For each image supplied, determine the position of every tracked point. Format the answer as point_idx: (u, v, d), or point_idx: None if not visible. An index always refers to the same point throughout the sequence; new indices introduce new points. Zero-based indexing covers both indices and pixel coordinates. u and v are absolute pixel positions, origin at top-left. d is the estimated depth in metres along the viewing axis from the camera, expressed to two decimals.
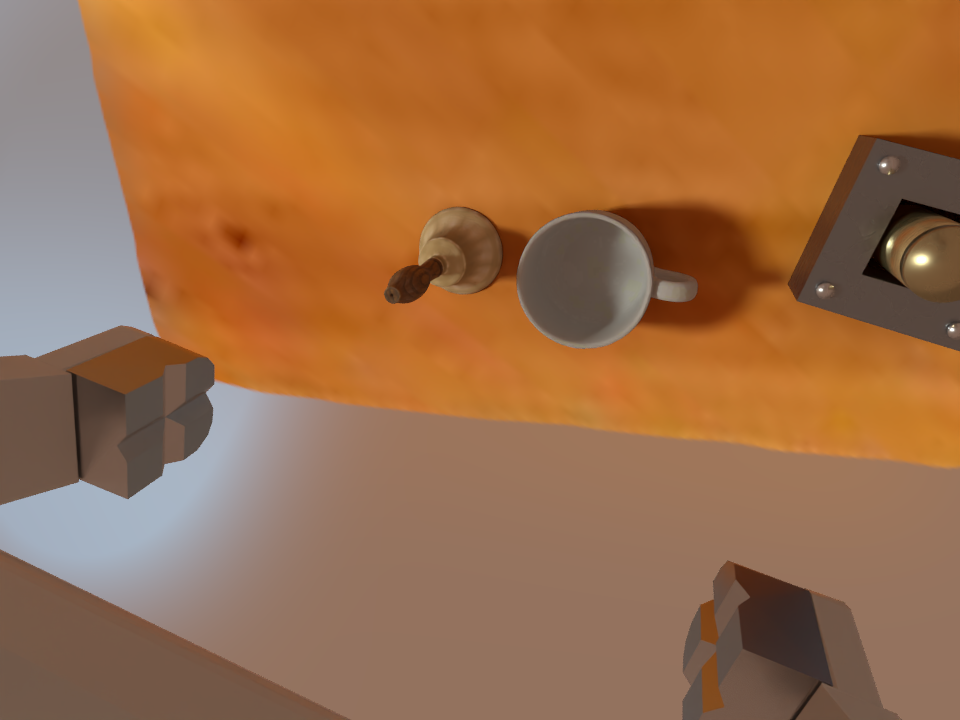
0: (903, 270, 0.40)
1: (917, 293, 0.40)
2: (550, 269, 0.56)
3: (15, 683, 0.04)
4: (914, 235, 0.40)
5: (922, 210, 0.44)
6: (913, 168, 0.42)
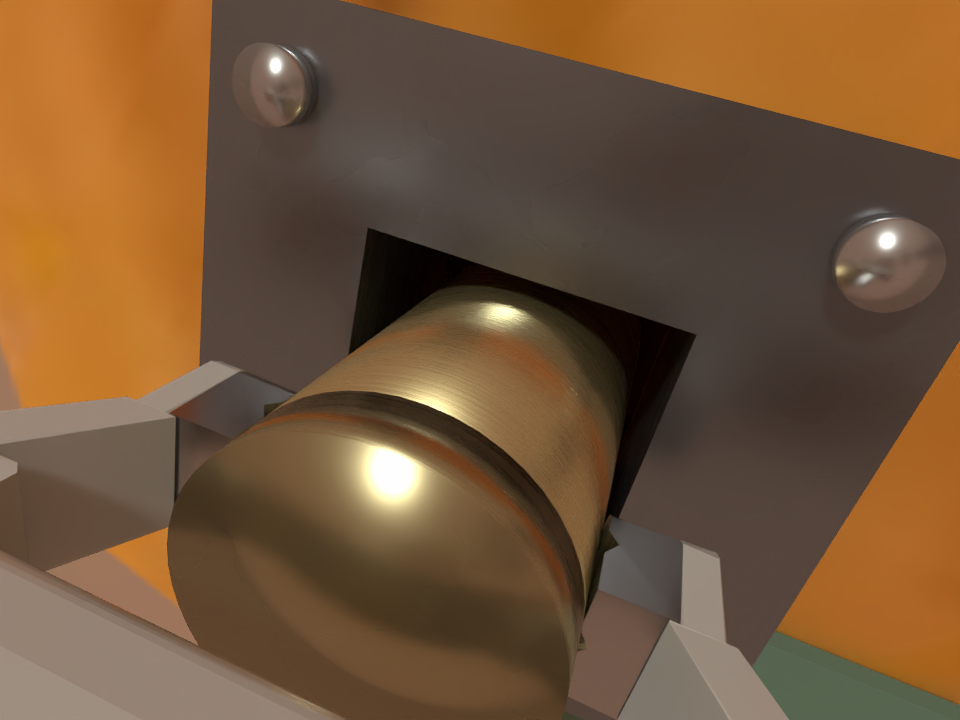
0: (294, 424, 0.06)
1: (185, 500, 0.07)
2: None
3: (15, 683, 0.04)
4: (520, 441, 0.07)
5: (629, 394, 0.12)
6: (838, 363, 0.09)
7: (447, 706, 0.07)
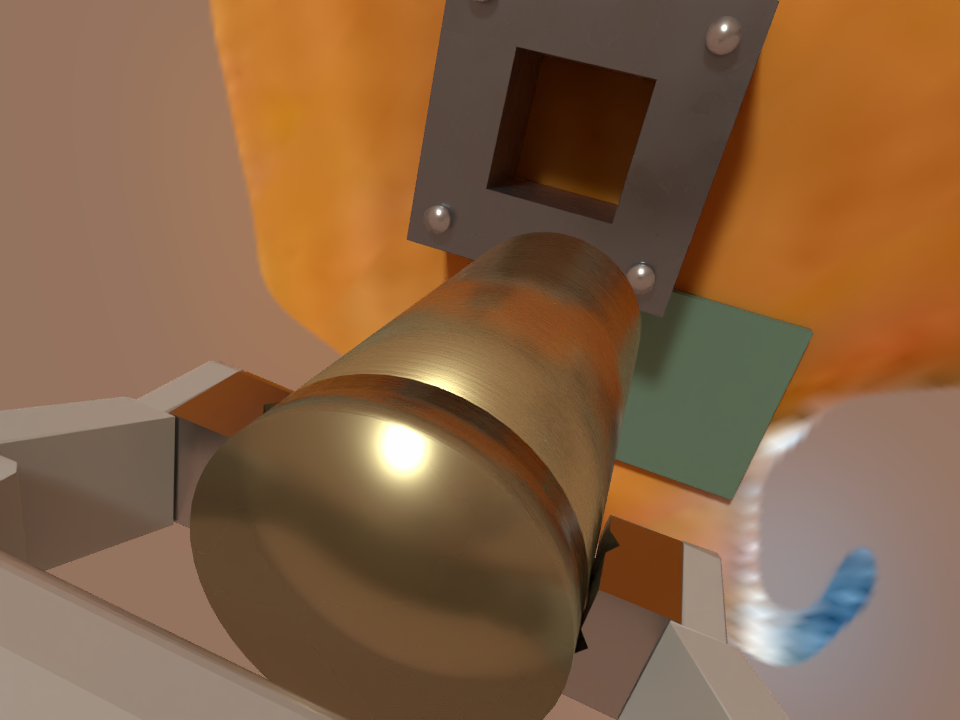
0: (313, 404, 0.07)
1: (208, 478, 0.07)
2: None
3: (15, 683, 0.04)
4: (527, 420, 0.07)
5: (630, 383, 0.13)
6: (712, 84, 0.23)
7: (457, 673, 0.07)
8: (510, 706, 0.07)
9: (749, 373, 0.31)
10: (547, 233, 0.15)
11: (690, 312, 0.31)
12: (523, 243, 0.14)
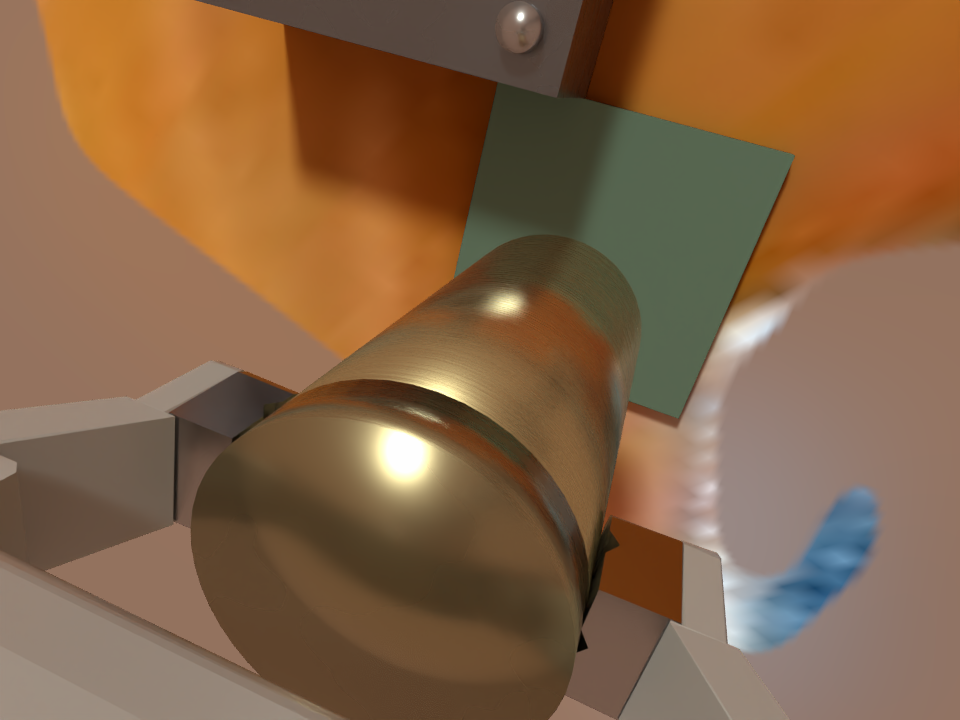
0: (314, 410, 0.07)
1: (209, 483, 0.07)
2: None
3: (15, 683, 0.04)
4: (528, 426, 0.07)
5: (630, 386, 0.13)
6: None
7: (458, 678, 0.07)
8: (511, 711, 0.07)
9: (702, 224, 0.21)
10: (547, 235, 0.15)
11: (617, 132, 0.21)
12: (523, 246, 0.14)
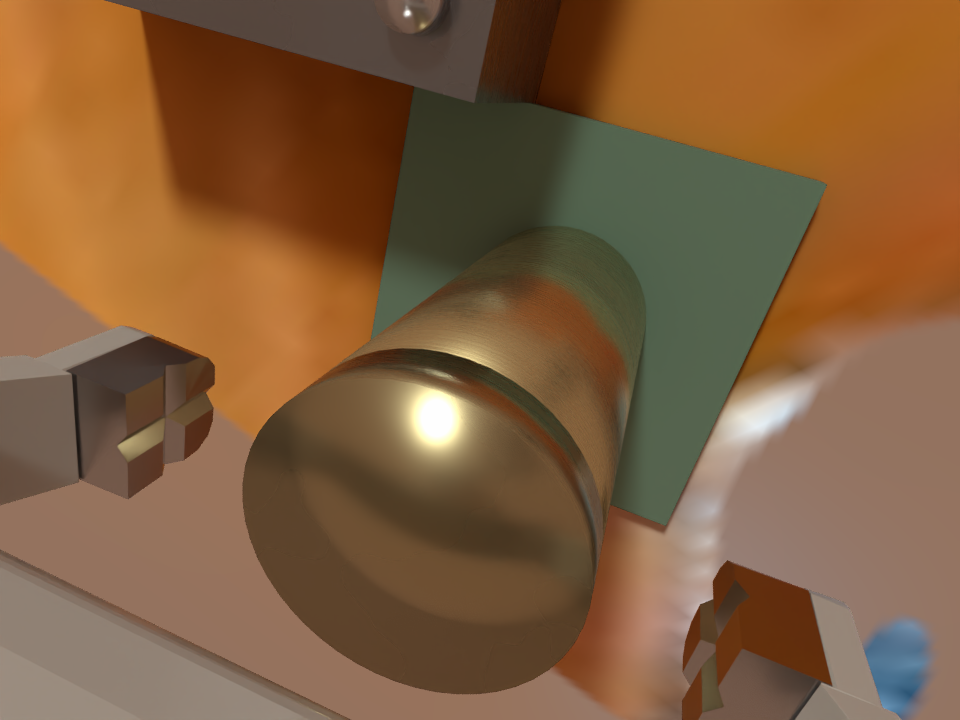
0: (360, 373, 0.07)
1: (262, 442, 0.08)
2: None
3: (16, 683, 0.04)
4: (548, 390, 0.08)
5: (636, 367, 0.13)
6: None
7: (486, 617, 0.08)
8: (533, 646, 0.08)
9: (696, 277, 0.15)
10: (557, 227, 0.16)
11: (579, 150, 0.15)
12: (535, 236, 0.15)
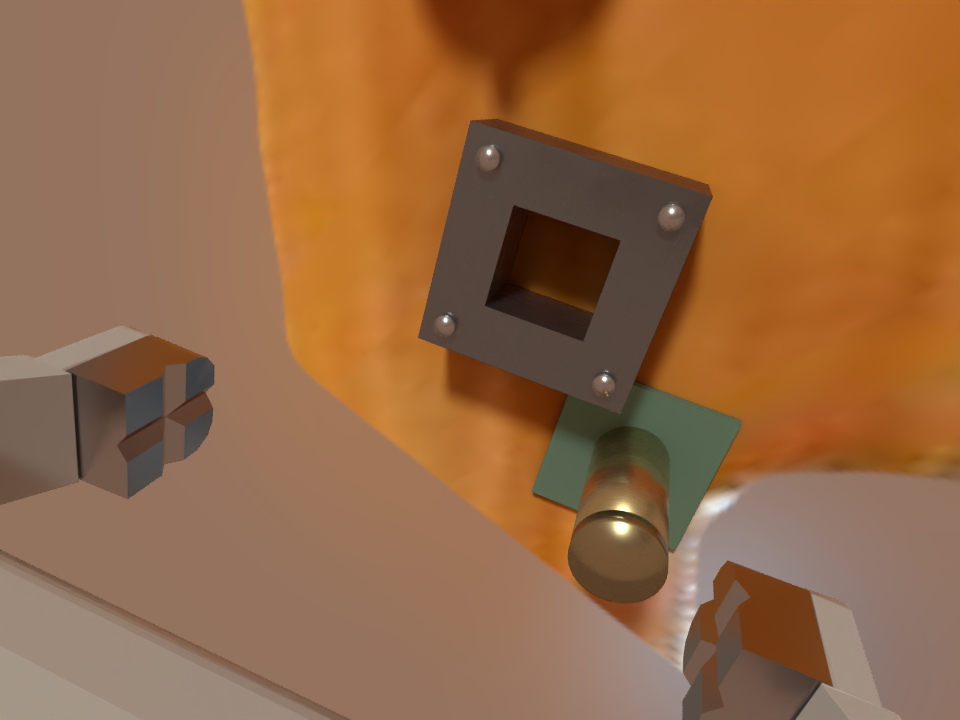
0: (611, 519, 0.30)
1: (579, 534, 0.30)
2: None
3: (16, 683, 0.04)
4: (654, 521, 0.31)
5: None
6: (662, 249, 0.30)
7: (638, 580, 0.30)
8: (650, 588, 0.30)
9: (691, 451, 0.38)
10: (634, 428, 0.38)
11: (645, 401, 0.38)
12: (628, 437, 0.37)
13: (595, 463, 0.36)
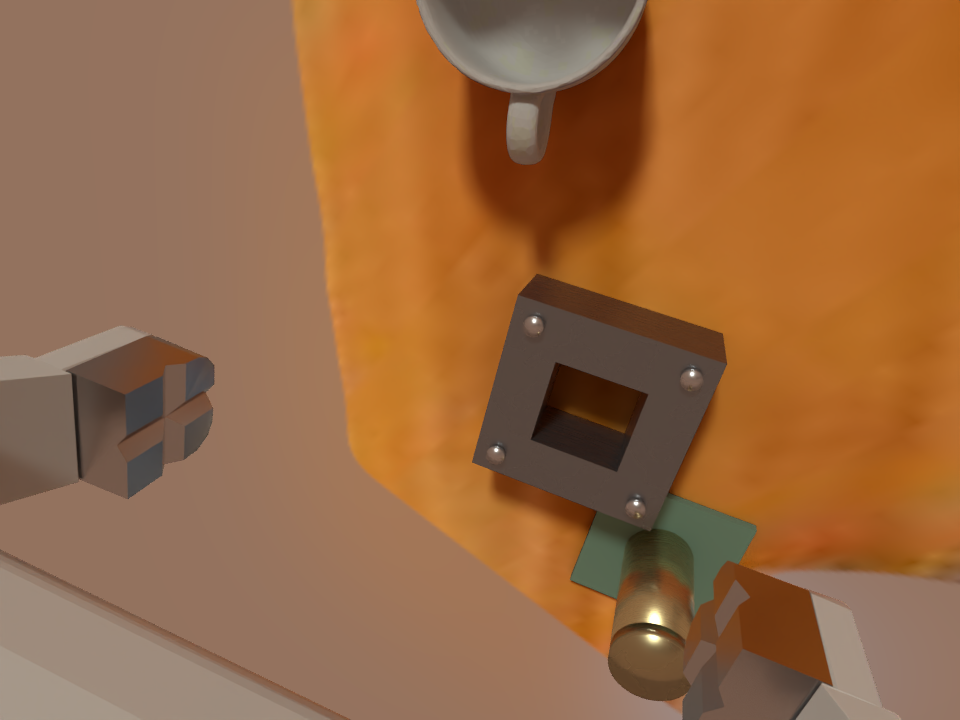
0: (645, 633, 0.35)
1: (618, 644, 0.36)
2: None
3: (15, 683, 0.04)
4: (682, 632, 0.36)
5: None
6: (684, 402, 0.35)
7: (669, 683, 0.36)
8: (680, 690, 0.35)
9: (712, 551, 0.43)
10: (661, 530, 0.43)
11: (671, 508, 0.43)
12: (656, 541, 0.42)
13: (628, 567, 0.41)
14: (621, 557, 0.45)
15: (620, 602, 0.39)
